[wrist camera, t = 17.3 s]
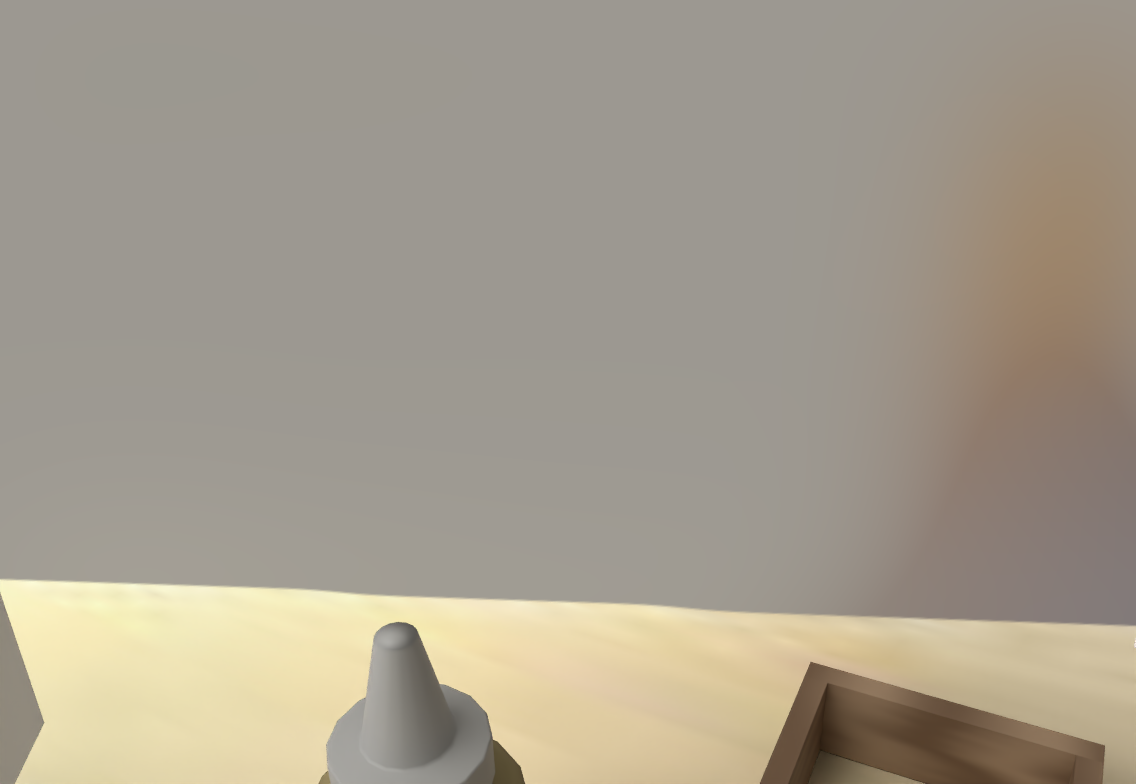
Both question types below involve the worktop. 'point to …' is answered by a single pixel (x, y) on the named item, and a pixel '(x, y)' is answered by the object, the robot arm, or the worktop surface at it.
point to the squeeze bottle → (414, 726)
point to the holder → (921, 737)
